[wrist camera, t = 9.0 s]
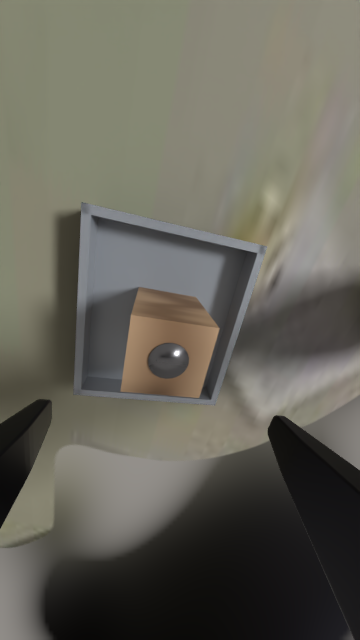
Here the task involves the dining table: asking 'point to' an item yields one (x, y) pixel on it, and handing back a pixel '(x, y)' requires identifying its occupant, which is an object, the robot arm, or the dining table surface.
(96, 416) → the dining table surface
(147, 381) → the wooden block with knob
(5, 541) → the dining table surface
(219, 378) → the tray
